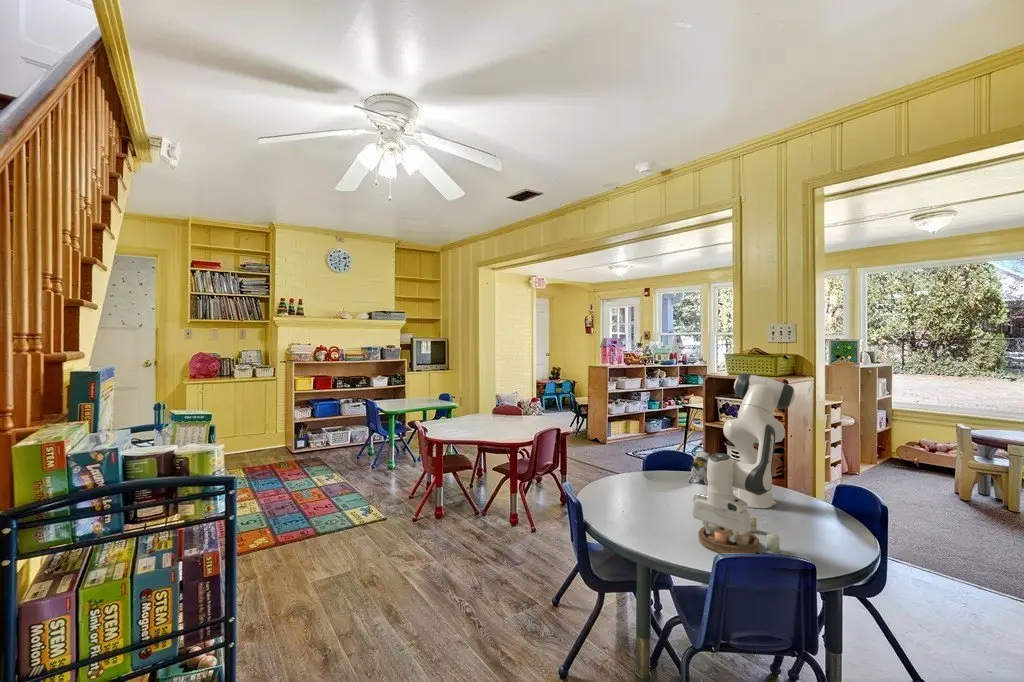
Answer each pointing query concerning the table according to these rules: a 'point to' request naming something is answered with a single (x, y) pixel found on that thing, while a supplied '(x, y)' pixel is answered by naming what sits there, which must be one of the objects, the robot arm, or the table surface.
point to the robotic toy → (700, 466)
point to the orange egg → (720, 536)
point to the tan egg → (753, 525)
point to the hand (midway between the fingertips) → (720, 537)
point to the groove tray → (742, 544)
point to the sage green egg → (773, 543)
